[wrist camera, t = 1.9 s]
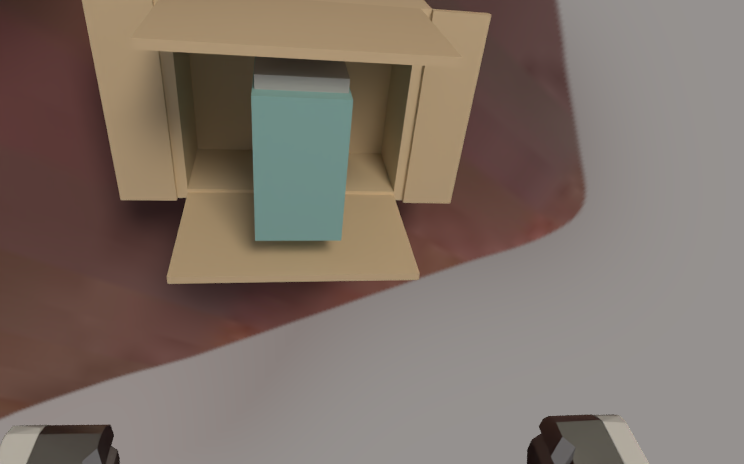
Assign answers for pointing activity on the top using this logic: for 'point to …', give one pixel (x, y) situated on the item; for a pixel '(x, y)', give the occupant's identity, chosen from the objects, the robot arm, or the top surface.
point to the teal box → (300, 148)
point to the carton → (234, 122)
